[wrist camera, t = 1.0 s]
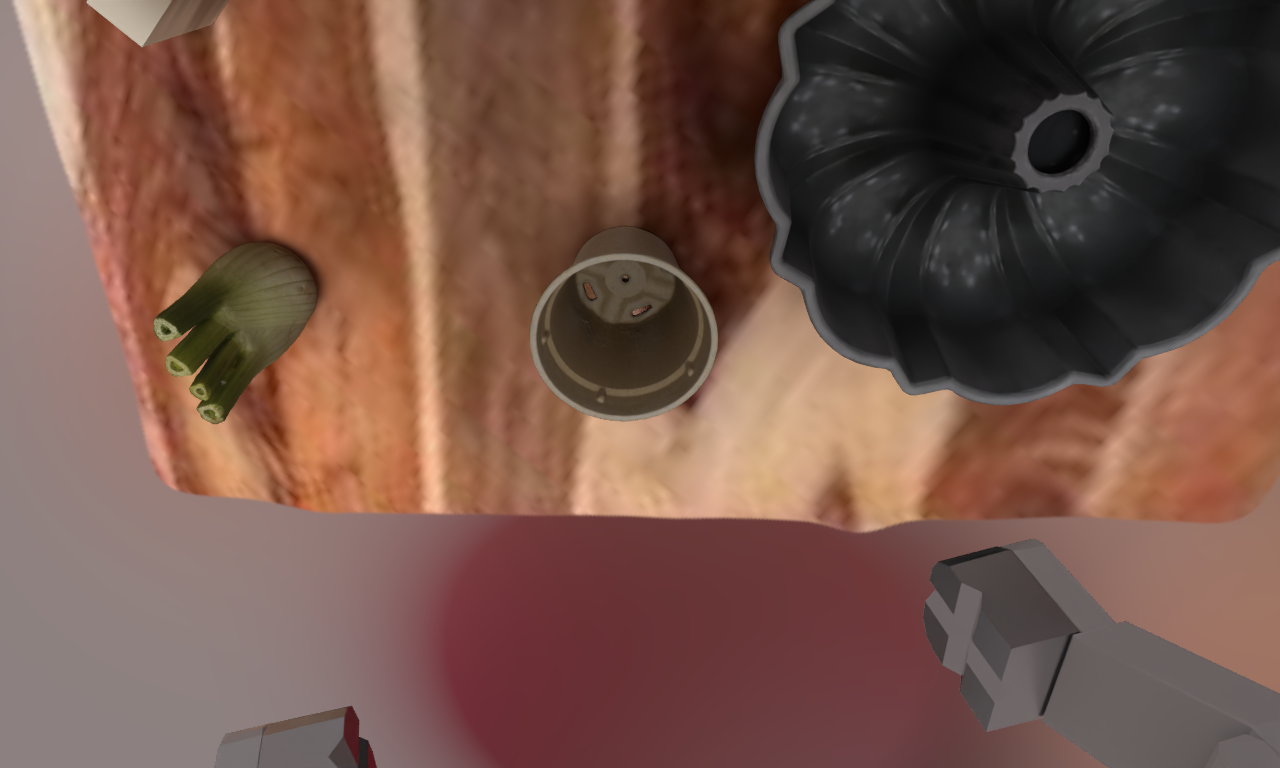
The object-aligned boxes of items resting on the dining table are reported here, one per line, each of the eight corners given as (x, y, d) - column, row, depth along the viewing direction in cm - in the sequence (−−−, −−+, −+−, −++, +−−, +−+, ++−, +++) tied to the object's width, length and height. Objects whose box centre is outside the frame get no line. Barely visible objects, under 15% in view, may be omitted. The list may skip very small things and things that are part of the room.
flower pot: (511, 279, 49) (491, 349, 42) (617, 161, 45) (615, 214, 38) (630, 372, 52) (630, 451, 45) (737, 268, 49) (756, 336, 41)
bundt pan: (1060, -370, 35) (1204, -457, 26) (1331, 83, 44) (1502, 130, 35) (628, 106, 44) (628, 158, 36) (927, 395, 54) (984, 491, 45)
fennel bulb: (241, 221, 47) (132, 314, 37) (330, 242, 48) (247, 339, 37) (238, 311, 50) (137, 421, 39) (322, 329, 50) (244, 442, 40)
